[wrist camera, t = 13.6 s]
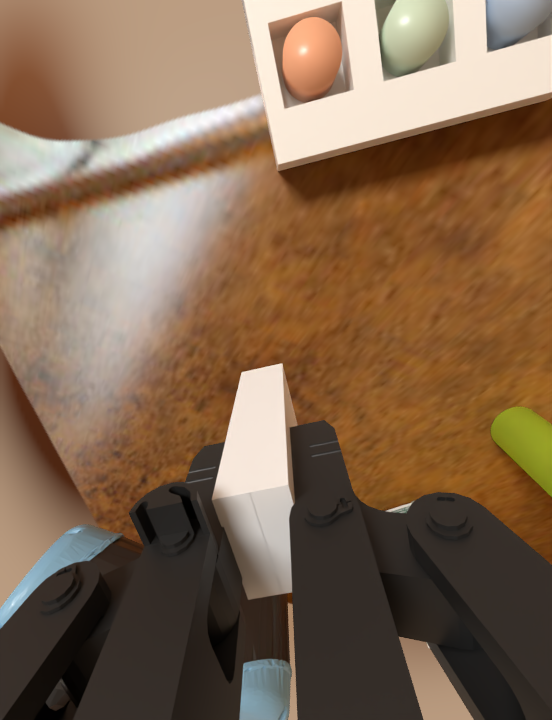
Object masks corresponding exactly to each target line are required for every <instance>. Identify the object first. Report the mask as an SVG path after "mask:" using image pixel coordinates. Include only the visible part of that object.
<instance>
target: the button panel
mask: <svg viewBox="0 0 552 720" xmlns="http://www.w3.org/2000/svg"><path fill="white" fill-rule="evenodd" d="M445 1H446V4H447V7H448V12H449V24H448V30H447V33H446V36H445V38H444V40H443V42H442V44H441V45H440V47H439V48H438V49H437V50H436V52H435V53H434V54H433V55H432V56H431V57H430V58H429V59H428V60H427V62H426V63H425V64H424V65H423V66H422V67H421V68H420V69H419V70H418V71H417V72H415V73H412V74H409V75H405V76H401V77H398V76H394V75H392V74H390V73H389V72H387V71H386V70H385V69H384V68H383V66H382V63H381V54H380V45H379V37H378V36H379V32H380V30H381V28H382V26H383V24H384V22H385V20H386V18H387V16H388V14H389V12H390V11H391V9H392V7H393V5H394V3H395V2H396V0H242V4H243V9H244V13H245V18H246V23H247V28H248V32H249V37H250V42H251V47H252V51H253V56H254V61H255V65H256V70H257V75H258V80H259V85H260V89H261V94H262V99H263V104H264V108H265V113H266V118H267V123H268V127H269V132H270V137H271V142H272V146H273V151H274V156H275V161H276V165H277V170H278V171H281V170H285V169H289V168H293V167H296V166H300V165H304V164H308V163H312V162H315V161H319V160H323V159H327V158H330V157H334V156H338V155H342V154H346V153H349V152H353V151H357V150H361V149H365V148H368V147H372V146H376V145H380V144H383V143H387V142H391V141H395V140H399V139H402V138H406V137H410V136H414V135H418V134H421V133H425V132H429V131H433V130H437V129H440V128H444V127H448V126H452V125H455V124H459V123H463V122H467V121H471V120H474V119H478V118H482V117H486V116H490V115H493V114H497V113H501V112H505V111H508V110H512V109H516V108H520V107H524V106H527V105H531V104H535V103H539V102H543V101H546V100H549V99H551V98H552V12H551V14H550V15H549V16H548V18H547V19H546V20H545V21H544V22H542V23H541V24H540V25H539V26H537V27H536V28H535V29H534V30H532V31H531V32H530V33H528V34H527V35H526V36H525V37H523V38H522V39H521V40H519V41H518V42H517V43H516V44H514V45H513V46H510V47H506V48H502V49H499V50H494V49H491V48H489V47H487V34H486V3H485V0H445ZM309 17H318V18H322V19H324V20H326V21H328V22H329V23H330V24H331V25H332V26H333V27H334V28H335V29H336V31H337V33H338V35H339V37H340V40H341V44H342V61H341V65H340V68H339V70H338V73H337V75H336V78H335V80H334V83H333V85H332V87H331V89H330V91H329V92H328V93H327V94H326V95H325V96H324V97H323V98H321V99H318V100H315V101H311V102H308V103H307V102H301V101H299V100H297V99H295V98H294V97H293V96H292V95H291V94H290V93H289V92H288V90H287V89H286V87H285V84H284V81H283V76H282V61H283V47H284V43H285V39H286V37H287V35H288V33H289V31H290V30H291V29H292V27H293V26H294V25H295V24H297V23H298V22H299V21H301V20H303V19H305V18H309Z"/></svg>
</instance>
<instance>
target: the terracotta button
mask: <svg viewBox="0 0 552 720" xmlns="http://www.w3.org/2000/svg"><path fill="white" fill-rule="evenodd" d="M341 61H342V44H341V40H340V37H339V35H338V33H337V31H336V29H335V28H334V27H333V26H332V25H331V24H330V23H329V22H328V21H326V20H324V19H322V18H318V17H309V18H305V19H303V20H301V21H299V22H298V23H297V24H295V25H294V26H293V27H292V29H291V30H290V31H289V33H288V35H287V37H286V39H285V43H284V47H283V61H282V76H283V81H284V84H285V87H286V89H287V90H288V92H289V93H290V94H291V95H292V96H293V97H294V98H295V99H297V100H299V101H301V102H307V103H308V102H311V101H315V100H318V99H321V98H323V97H324V96H325V95H326V94H327V93H328V92H329V91H330V89H331V87H332V85H333V83H334V80H335V78H336V75H337V73H338V70H339V68H340V65H341Z"/></svg>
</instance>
